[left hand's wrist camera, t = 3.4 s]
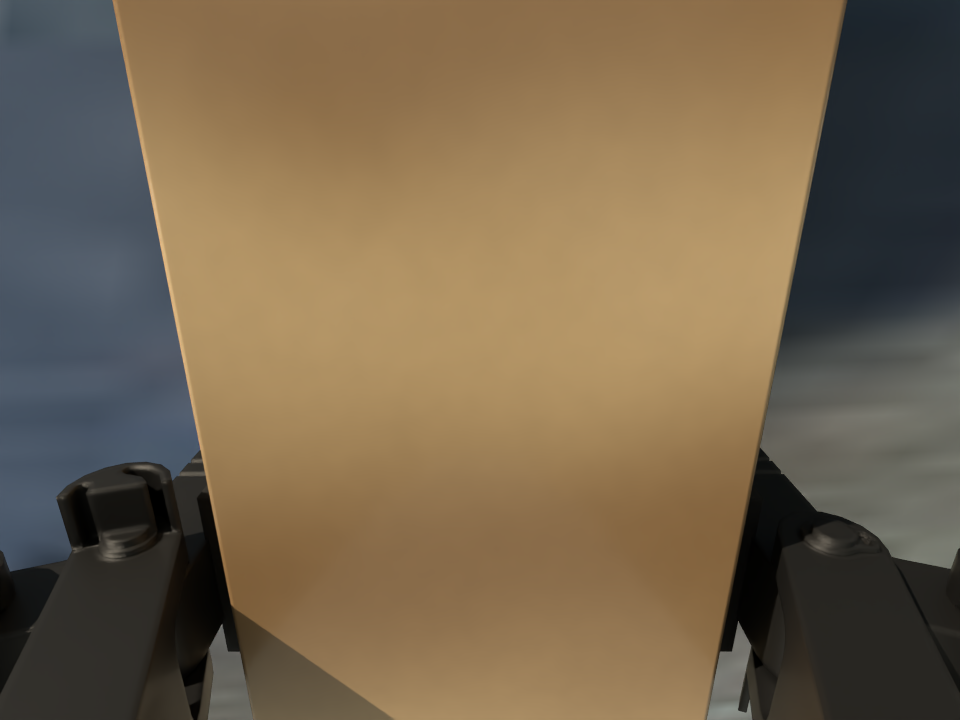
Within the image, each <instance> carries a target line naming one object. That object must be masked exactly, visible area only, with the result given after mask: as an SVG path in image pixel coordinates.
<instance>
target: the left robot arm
mask: <svg viewBox="0 0 960 720" xmlns="http://www.w3.org/2000/svg"><path fill="white" fill-rule="evenodd" d="M56 499H57V502H58V505H59V509H60V512H61V515H62V518H63V522H64V525H65V528H66V531H67V535H68V538H69V541H70V544H71V548H72V552H71V554H70V556H69V558H68V560H65V561H61V562H56V563H51V564H46V565H41V566H36V567H31V568H26V569H21V570H16V571H11V572H10V571H9V568H8V565H7V562H6V560H5V557H4V554H3V552H2V551H0V720H208V713H209V705H210V697H211V689H212V681H213V666H212V660H211V655H210V651H209V647H210V645H211V643H212V641H213V639H214V638H215V636H216V634H217V632H218V630H219V628H220V626H221V624H223V629H224V634H225V639H226V644H227V648H228V651H240V648H239V643H238V638H237V633H236V628H235V623H234V618H233V613H232V608H231V602H230V597H229V592H228V587H227V582H226V577H225V572H224V567H223V562H222V556H221V551H220V546H219V541H218V536H217V531H216V526H215V521H214V516H213V510H212V505H211V500H210V495H209V490H208V485H207V480H206V475H205V470H204V464H203V459H202V454H201V450H200V451H199V452H198V453H197V454H196V455H195V456H194V457H193V459H192V460H191V463H188V464H187V465H186V466H185V468H184V469H183V470H182V471H181V472H180V476H177V477H176V478H175V479H174V480H173V481H172V478H171V474H170V470H168V469H167V468H165V467H164V466H162V465H161V464H155V463H149V462H135V463H124V464H120V465H115V466H111V467H106V468H103V469H101V470H98V471H95V472H93V473H90V474H87V475H85V476H83V477H81V478H80V479H78V480H76V481H75V482H73V483H71V484H69V485H68V486H66V488H65V489H64V490H63V491H62V492H61V493H60V494H59V495H58V496H57V497H56ZM738 621H739V623H740V625H741V627H742V629H743V631H744V633H745V634H746V636H747V638H748V640H749V642H750V644H751V651H750V655H749V660H748V664H747V669H746V673H745V678H744V682H743V687H742V691H741V696H740V702H739V708H738V710H739V711H742V712H747V708H748V703H749V700H750V703H751V711H752V719H753V720H960V549H958V551H957V554H956V557H955V560H954V562H953V565H952V568H951V569H947V568H942V567H937V566H932V565H927V564H922V563H917V562H912V561H907V560H902V559H898V558H894V557H891V555H890V553H889V551H888V549H887V548H886V547H885V546H884V544H883V543H882V542H881V541H880V539H879V538H878V537H877V536H875V535H874V534H872V533H871V532H870V531H868V530H867V529H865V528H864V527H862V526H861V525H858V524H856V523H854V522H852V521H849V520H847V519H845V518H843V517H839V516H836V515H832V514H828V513H824V512H817V511H816V510H815V509H814V507H813V506H812V505H811V504H810V503H809V502H808V501H807V500H806V498H805V497H804V496H803V495H802V494H801V493H800V492H799V491H798V490H797V488H796V487H795V486H794V485H793V484H792V483H791V482H790V481H789V479H788V478H787V477H786V476H785V475H784V474H781V471H780V469H779V468H778V467H777V466H776V465H775V464H774V463H773V462H772V461H769V457H768V456H767V455H766V454H765V453H764V452H763V450H762V449H761V448H760V449H759V454H758V459H757V464H756V469H755V474H754V480H753V485H752V490H751V495H750V500H749V505H748V510H747V515H746V520H745V526H744V531H743V536H742V541H741V546H740V551H739V556H738V561H737V566H736V572H735V577H734V582H733V587H732V592H731V597H730V602H729V607H728V612H727V618H726V623H725V628H724V633H723V638H722V643H721V648H720V651H732V648H733V644H734V639H735V634H736V629H737V624H738Z"/></svg>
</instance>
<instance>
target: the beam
mask: <svg viewBox="0 0 960 720" xmlns="http://www.w3.org/2000/svg"><path fill="white" fill-rule="evenodd" d="M846 4H847V0H113V5H114V10H115V15H116V20H117V25H118V30H119V35H120V40H121V45H122V51H123V56H124V61H125V66H126V71H127V76H128V81H129V86H130V91H131V97H132V102H133V107H134V112H135V117H136V122H137V127H138V132H139V137H140V143H141V148H142V153H143V158H144V163H145V168H146V173H147V178H148V183H149V189H150V194H151V199H152V204H153V209H154V214H155V219H156V224H157V229H158V235H159V240H160V245H161V250H162V255H163V260H164V265H165V270H166V275H167V280H168V286H169V291H170V296H171V301H172V306H173V311H174V316H175V321H176V326H177V332H178V337H179V342H180V347H181V352H182V357H183V362H184V367H185V372H186V378H187V383H188V388H189V393H190V398H191V403H192V408H193V413H194V418H195V424H196V429H197V434H198V439H199V444H200V449H201V454H202V459H203V464H204V470H205V475H206V480H207V485H208V490H209V495H210V500H211V505H212V510H213V516H214V521H215V526H216V531H217V536H218V541H219V546H220V551H221V556H222V562H223V567H224V572H225V577H226V582H227V587H228V592H229V597H230V602H231V608H232V613H233V618H234V623H235V628H236V633H237V638H238V643H239V648H240V653H241V659H242V664H243V669H244V674H245V679H246V684H247V689H248V694H249V699H250V705H251V710H252V715H253V720H707V715H708V710H709V704H710V699H711V694H712V689H713V684H714V679H715V674H716V669H717V664H718V658H719V653H720V648H721V643H722V638H723V633H724V628H725V623H726V618H727V612H728V607H729V602H730V597H731V592H732V587H733V582H734V577H735V572H736V566H737V561H738V556H739V551H740V546H741V541H742V536H743V531H744V526H745V520H746V515H747V510H748V505H749V500H750V495H751V490H752V485H753V480H754V474H755V469H756V464H757V459H758V454H759V449H760V444H761V439H762V434H763V429H764V423H765V418H766V413H767V408H768V403H769V398H770V393H771V388H772V383H773V377H774V372H775V367H776V362H777V357H778V352H779V347H780V342H781V337H782V331H783V326H784V321H785V316H786V311H787V306H788V301H789V296H790V291H791V285H792V280H793V275H794V270H795V265H796V260H797V255H798V250H799V245H800V239H801V234H802V229H803V224H804V219H805V214H806V209H807V204H808V199H809V193H810V188H811V183H812V178H813V173H814V168H815V163H816V158H817V153H818V147H819V142H820V137H821V132H822V127H823V122H824V117H825V112H826V107H827V101H828V96H829V91H830V86H831V81H832V76H833V71H834V66H835V61H836V55H837V50H838V45H839V40H840V35H841V30H842V25H843V20H844V15H845V9H846Z"/></svg>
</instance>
